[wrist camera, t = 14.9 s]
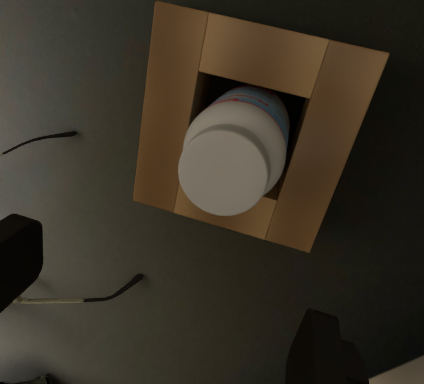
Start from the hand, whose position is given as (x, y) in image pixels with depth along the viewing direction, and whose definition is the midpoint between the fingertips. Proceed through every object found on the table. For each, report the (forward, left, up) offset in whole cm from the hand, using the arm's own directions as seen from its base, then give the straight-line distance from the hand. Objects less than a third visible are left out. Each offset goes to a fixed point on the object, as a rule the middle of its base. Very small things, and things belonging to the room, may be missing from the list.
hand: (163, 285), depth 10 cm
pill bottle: (0, 0, -20) cm, 20 cm away
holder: (0, 0, -20) cm, 20 cm away
